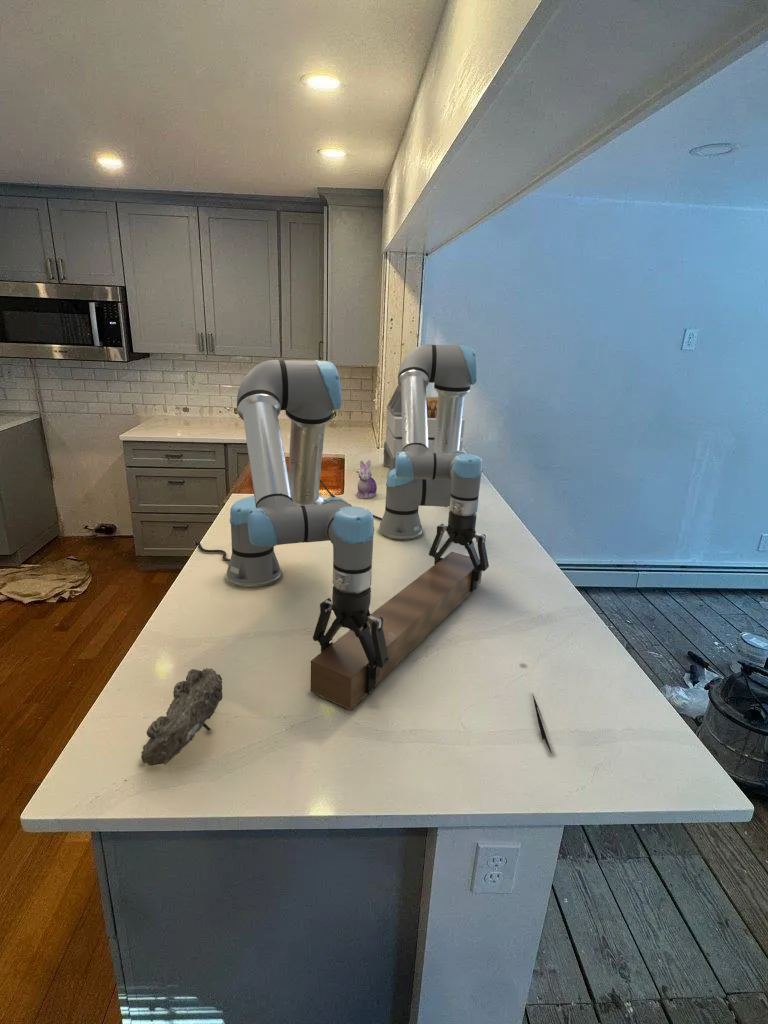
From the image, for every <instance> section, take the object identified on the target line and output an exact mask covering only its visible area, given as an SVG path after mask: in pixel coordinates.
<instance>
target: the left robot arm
mask: <svg viewBox="0 0 768 1024" xmlns="http://www.w3.org/2000/svg"><path fill="white" fill-rule="evenodd" d="M342 398H343V395H342V386H341V379H340V375H339V372H338V369H337V367H336V365H335V364H334V363H333V362H332V361H329V360H318V359H314V360H304V359H303V360H297V359H296V360H295V359H293V360H291V359H290V360H288V359H287V360H286V359H283V360H282V359H269V360H265V361H263V362H260V363H258V364H256V365H255V366H253V368H252V369H250V371H248V373H246V375H245V377H244V378H243V379H242V381H241V383H240V385H239V388H238V390H237V396H236V407H237V409H236V410H237V414H238V416H239V418H240V419H241V420H242V421H243V425H244V433H245V439H246V447H247V454H248V462H249V468H250V475H251V481H252V482H251V483H252V490H253V495H251V496H246V497H243V498H241V499H239V500H237V501H235V502H234V503H233V504H232V505H231V507H230V511H229V514H230V515H229V516H230V517H229V524H230V536H231V537H230V538H231V539H230V540H231V555H230V558H227V557H226V556H227V552H226V551H225V550H222V549H207V548H206V549H205V548H204V547H203V546H202V544H201V542H200V541H196V543H195V546H197V547H198V548H199V550H201V552H204V553H208V554H209V553H221V554H222V560H224V561H225V562H228V565H227V569H226V581H227V583H229V584H230V585H232V586H234V587H236V588H241V589H260V588H266V587H269V586H271V585H274V584H275V583H277V582H278V581H279V580H280V579H281V577H282V570H281V566H280V563H279V561H278V558H277V556H276V553H275V547H276V546H281V545H289V544H300V543H302V544H303V543H305V544H306V543H317V542H330V543H331V544H332V585H333V586H332V597H331V598H332V599H331V598H330V597H328V598H326V599H325V600H323V601H322V602H320V603H319V615H318V619H317V622H316V625H315V629H314V632H313V635H312V640H313V641H314V642H318V643H319V645H320V653H321V652H322V651H324V650H325V649H326V648H328V647H329V646H330V645H331V644H333V643H334V642H332V641H333V639H334V637H335V636H336V635H337V633H338V631H339V630H340V629H341V628H344V629H348V630H349V631H350V630H352V631H354V633H355V635H356V637H358V638H359V640H360V642H361V645H362V647H363V649H364V652H365V654H366V656H367V659H368V661H369V664H368V665H367V669H366V692H365V693H367V694H366V695H370V694H371V693H372V691H374V689H376V686H377V685H376V679H377V678H378V677H379V675H380V668H383V667H384V666H385V665H386V664H387V663H388V662H389V656H388V651H387V646H386V641H385V637H384V632H383V618H382V617H378V618H375V617H373V616H371V614H372V613H371V612H370V606H371V599H372V598H371V595H372V587H371V586H372V573H373V551H374V534H375V526H374V525H375V523H374V517H373V515H374V514H373V512H372V511H370V510H369V509H367V508H365V507H362V506H355V505H352V504H351V503H348V501H346V500H345V499H343V498H341V497H338V496H335V497H332V496H331V497H328V498H327V499H324V497H323V496H322V494H321V493H320V485H321V483H320V480H321V472H322V463H323V461H322V460H323V453H324V452H323V451H324V440H325V430H326V424H328V423H329V422H330V421H331V420H332V418H333V412H334V411H338V410H340V409H341V407H342V403H343V402H342ZM281 411H285V415H286V417H287V418H288V419H289V420H290V433H289V434H290V435H289V436H290V437H289V451H288V452H289V454H288V456H289V457H288V466H287V460H286V454H285V449H284V444H283V438H282V431H281V427H280V422H279V416H280V414H281ZM332 612H333V614H334V616H335V618H334V620H333V621H332V623H331V624H330V627H329V628H328V624H329V622H330V621H329V620H330V619H331V618H330V617H331V615H332ZM368 622H369V624H370V626H369V624H368ZM362 627H363V628H362ZM327 628H328V629H327ZM360 628H362V629H361V630H360ZM370 629H371V633H370ZM371 635H372V636H371Z"/></svg>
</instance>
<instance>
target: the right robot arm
mask: <svg viewBox="0 0 768 1024" xmlns="http://www.w3.org/2000/svg"><path fill="white" fill-rule="evenodd" d="M477 379H478V360H477V354H476V351H475V350H474V348H473V347H471V346H466V345H459V344H458V345H457V344H431V343H429V344H428V343H427V344H422V345H419V346H417V347H415V348H413V349H412V350H411V351H410V352H409V353H408V354H406V356H405V357H404V358H403V360H402V361H401V363H400V365H399V369H398V372H397V384H398V385H399V387H400V388H401V397H402V452H398V453H397V454H396V461H395V469H392V470H391V471H390V470H388V473H387V475H386V482H385V487H386V488H385V489H386V490H385V504H384V505H385V507H384V508H385V509H384V513H383V515H382V517H380V516H377V515H375V514H373V519H374V518H375V519H377V520H380V521H381V522H379V527H378V533H379V534H380V535H381V536H382V537H385V538H387V539H389V540H395V541H410V540H415V539H418V538H420V537H421V536H422V535H423V525H422V524H421V518H420V515H419V507H444V508H449V511H448V520H447V525H445V524H444V523H440V524H439V525H437V526H436V534H435V536H434V538H433V542H432V544H431V546H430V549H429V552H428V556H429V557H432V558H434V563H433V566H434V565H435V564H436V563H438V562H439V561H440V560H441V559H443V558H444V557H443V556H444V554H445V552H446V551H447V550H448V549H449V547H450V546H451V545H452V544H457V545H460V546H464V549H465V550H466V551H467V554H468V556H470V559H471V561H472V564H473V566H474V568H475V569H474V570H473V571H472V578H471V587H470V592H471V593H474V592H475V591H476V590H477V587H478V586H477V582H478V581H479V580H480V579H481V580H482V575H481V571H482V572H485V571H487V570H488V569H489V568H490V566H489V559H488V553H487V547H486V546H487V545H486V539H487V535H486V534H485V533H482V534H480V533H477V531H476V526H477V517H478V515H477V512H478V507H479V496H480V488H481V479H482V473H483V459H482V458H481V457H480V456H478V455H476V454H471V453H466V452H465V451H463V450H462V451H459V447H460V439H461V438H460V437H461V427H462V419H464V408H465V407H464V406H465V397H466V395H467V394H468V393H469V392H470V391H471V386H474V385H476V384H477V381H478V380H477ZM430 383H431V384H433V389H434V390H435V391H436V393H437V397H438V404H437V416H436V427H435V439H434V451H433V453H429V452H428V425H427V400H426V397H427V387H428V386H429V384H430ZM398 385H397V386H398ZM320 485H322V487H323V488H324V489H325V491H326V492H327V493H328V494H329V495H330V496H331V497H336V496H335V495H334V494H333V493H332V492H331V491H330V490H329V489H328V488H327V486H326V484H325V483H324V482H323V481H322V480H321V479H320ZM445 533H447V535H448V537H447V539H446V541H445V542H444V544H443V545H442V546H441V547H440V548H439V546H440V545H441V541H442V539H443V536H444V534H445ZM474 539H475V542H476V544H477V545H476V546H477V549H476V547H475V543H474ZM438 549H439V550H438ZM477 551H478V552H477ZM476 586H477V587H476Z"/></svg>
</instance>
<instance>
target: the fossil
mask: <svg viewBox="0 0 768 1024" xmlns="http://www.w3.org/2000/svg"><path fill="white" fill-rule="evenodd" d="M172 696H173V700H172V701H171V703H170V704H169V707H168V708H167V710H166V712H165V713H166V714H165V715H166V716H163V715H160V716H158V717H157V718H156V720H153V721H152V722H151V724H150V725H149V726H148V728H147V730H146V736H147V737H148V738H149V739H148V740H147V742H146V743H145V744H144V745H143V746H142V750H141V752H140V753H141V756H140V759H141V762H142V763H143V764H146V765H148V766H149V767H155V766H160V765H167V764H168V763H169V762H170V761H172V759H174V757H176V755H178V754H180V752H181V751H182V750H183V749H184V748H185V747H186V746H187V745H189V744H190V742H192V741H193V739H194V738H195V736H196V734H197V733H198V732H199V731H200V730H201V729H202V728H204V729H206V730H207V731H208V732H209V731H211V728H210V726H208V724H206V721H207V720H210V719H211V718H212V716H213V715H214V714H215V711H216V709H217V707H218V705H219V703H220V702H221V701H222V699H223V698H224V697H223V696H224V695H223V677H222V676H221V674H219V673H217V671H216V670H215V669H213V668H207V667H206V668H203V669H202V670H200V669H196V668H191V669H190V670H189V671H188V673H187V675H186V677H185V680H181V681H178V682H177V683H176V684H175V685H174V687H173V695H172Z"/></svg>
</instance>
